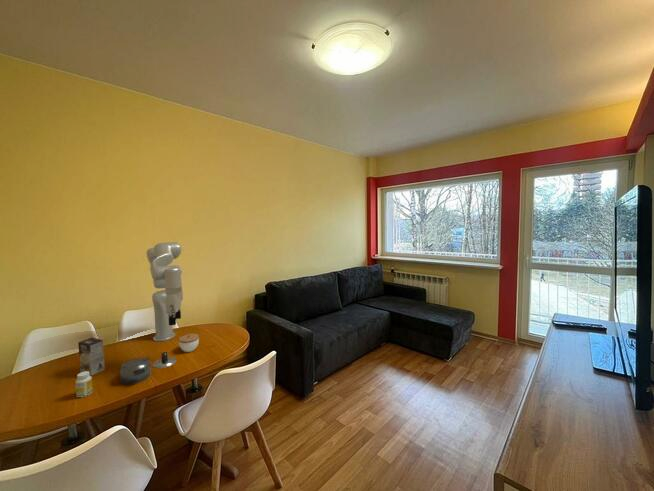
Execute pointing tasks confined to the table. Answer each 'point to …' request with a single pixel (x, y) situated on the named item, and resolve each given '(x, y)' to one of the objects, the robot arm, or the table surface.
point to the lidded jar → (189, 342)
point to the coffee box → (91, 355)
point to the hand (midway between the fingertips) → (175, 321)
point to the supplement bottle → (83, 384)
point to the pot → (135, 370)
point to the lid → (164, 361)
